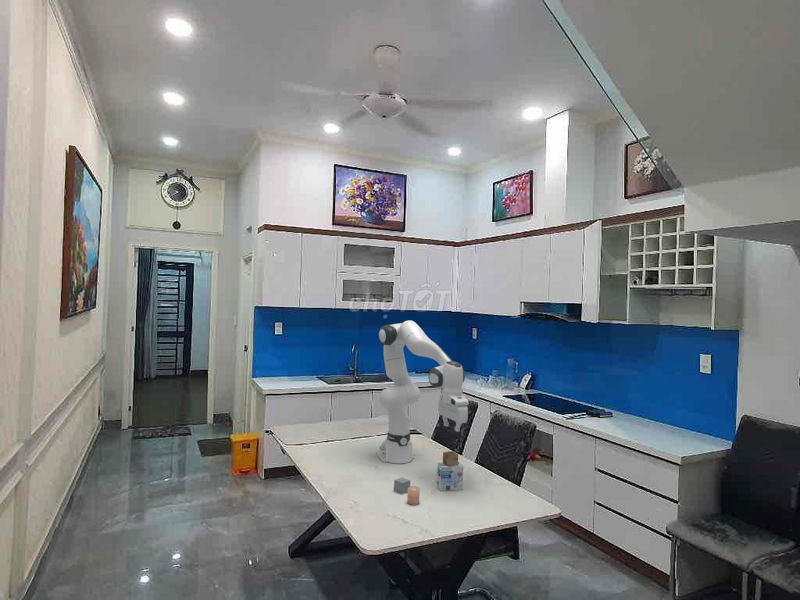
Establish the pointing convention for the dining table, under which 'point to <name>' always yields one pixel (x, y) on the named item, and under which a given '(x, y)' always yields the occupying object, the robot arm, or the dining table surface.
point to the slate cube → (401, 485)
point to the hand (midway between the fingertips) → (451, 428)
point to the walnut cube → (450, 458)
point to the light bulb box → (449, 477)
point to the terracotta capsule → (413, 495)
